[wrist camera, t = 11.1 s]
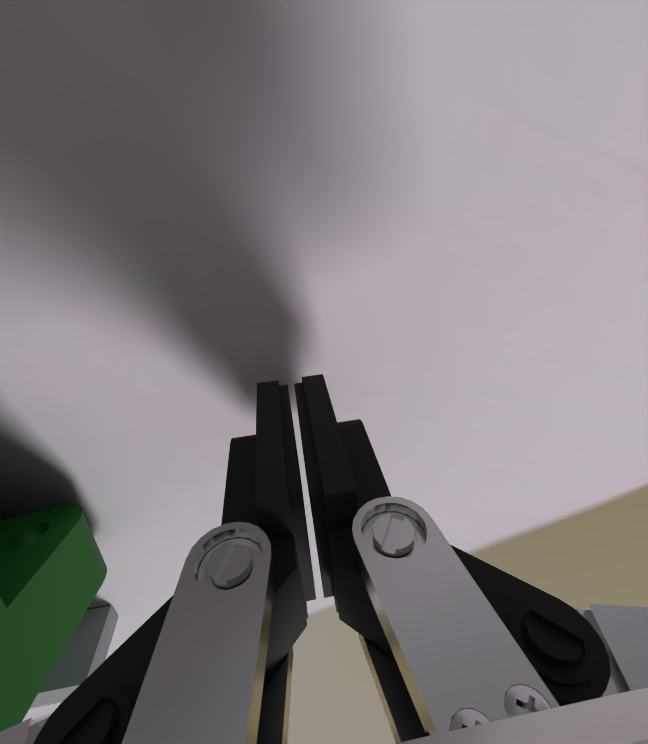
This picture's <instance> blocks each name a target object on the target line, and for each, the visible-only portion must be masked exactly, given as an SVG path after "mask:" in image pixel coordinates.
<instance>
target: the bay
mask: <svg viewBox="0 0 648 744" xmlns="http://www.w3.org/2000/svg"><path fill="white" fill-rule="evenodd" d="M117 620H118V616H117V614H116V613H115V611H114V609H113V608H112V606H105V607H100V608H94V609H89V610H87V611H86V612H85V614H84V616H83V617H82V619H81V621H80V623H79V624H78V626H77V628H76V629H75V631H74V633H73V635H72V636H71V638H70V640H69V641H68V643H67V645H66V647H65V648H64V650H63V652H62V653H61V655H60V657H59V659H58V660H57V662H56V664H55V665H54V667H53V669H52V671H51V672H50V674H49V676H48V677H47V679H46V681H45V683H44V684H43V686H42V688H41V689H40V691H39V693H38V695H37V696H36V698H35V700H34V701H33V703H32V705H31V707H30V708H35V707H39V706H44V705H49V704H54V703H59V702H63V701H64V700H65V699H66V698H67V697H68V696H69V695H70V694H71V693H72V692H73V691H74V690H75V689H76V688H77V687H78V686H79V685H80V684H81V683H82V682H83V681H84V680H85V679H87V678H88V677H89V676H90V675H91V674H92V673H93V672H94V671H95V670H96V669H97V668H98V667H99V666H100V665H101V664H102V663H103V662H104V661H105V659H106V655H107V652H108V649H109V646H110V642H111V639H112V636H113V633H114V629H115V626H116V623H117ZM30 708H29V709H30Z"/></svg>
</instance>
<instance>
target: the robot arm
mask: <svg viewBox="0 0 648 744" xmlns="http://www.w3.org/2000/svg"><path fill="white" fill-rule="evenodd" d="M294 386H295V393H296V401H297V409H298V416H299V424H300V431H301V439H302V447H303V454H304V462H305V469H306V476H307V483H308V490H309V497H310V504H311V511H312V517H313V524H314V531H315V538H316V545H317V552H318V558H319V565H320V572H321V579H322V586H323V593H324V598H325V597H331V596H334V599H335V605H336V610H337V612H339V618H340V620H342V621H343V622H344V623H346V624H347V625H348V626H350V627H351V628H353V629H354V630H355V631H357V632H358V634H359V639H360V642H361V646H362V649H363V651H364V654H365V657H366V660H367V663H368V666H369V668H370V671H371V674H372V677H373V679H374V683H375V685H376V688H377V691H378V694H379V697H380V699H381V702H382V705H383V708H384V711H385V714H386V717H387V719H388V722H389V725H390V728H391V731H392V733H393V737H394V739H395V742H396V744H648V607H636V606H619V605H600V604H588V605H587V608H586V610H581V609H574V608H572V607H571V606H569V605H568V604H566V603H564V602H563V601H561V600H560V599H558V598H556V597H554V596H552V595H550V594H548V593H546V592H544V591H542V590H540V589H538V588H536V587H534V586H532V585H530V584H528V583H526V582H523V581H522V580H519V579H518V578H516V577H514V576H512V575H510V574H507V573H506V572H503V571H502V570H500V569H498V568H496V567H494V566H492V565H490V564H488V563H485V562H484V561H482V560H480V559H478V558H475V557H474V556H472V555H470V554H468V553H466V552H464V551H462V550H460V549H458V548H456V547H454V546H452V545H450V544H449V543H448V541H447V540H446V538H445V537H444V535H443V534H442V533H441V531H440V530H439V528H438V527H437V525H436V524H435V522H434V521H433V519H432V518H431V516H430V515H429V514H428V513H427V512H426V511H425V510H424V509H423V508H422V507H421V506H419V505H417V504H416V503H414V502H413V501H410V500H407V499H404V498H401V497H391V494H390V492H389V489H388V487H387V484H386V481H385V479H384V476H383V474H382V471H381V469H380V466H379V464H378V461H377V458H376V456H375V453H374V451H373V448H372V446H371V443H370V441H369V438H368V436H367V433H366V430H365V428H364V425H363V423H362V421H361V420H360V419H358V420H352V421H345V422H338V423H337V421H336V417H335V414H334V411H333V407H332V404H331V400H330V397H329V394H328V390H327V387H326V383H325V380H324V377H323V374H321V375H313V376H306V377H302V383H296V384H294ZM315 599H316V595H315V587H314V579H313V571H312V564H311V556H310V548H309V540H308V532H307V524H306V516H305V508H304V500H303V493H302V485H301V477H300V469H299V462H298V455H297V448H296V441H295V434H294V427H293V420H292V413H291V406H290V398H289V391H288V385H281V386H279V380H277V381H269V382H262V383H257V411H256V435H251V436H244V437H237V438H232V439H231V443H230V451H229V460H228V469H227V479H226V488H225V497H224V506H223V515H222V525H221V526H219V527H216V528H214V529H212V530H211V531H209V532H208V533H206V534H205V535H204V536H202V537H201V538H200V539H199V540H198V541H197V543H196V544H195V545H194V546H193V547H192V549H191V551H190V552H189V554H188V556H187V558H186V561H185V563H184V566H183V569H182V572H181V575H180V578H179V581H178V584H177V586H176V589H175V592H174V595H173V596H172V597H171V598H170V599H169V600H168V601H167V602H166V603H165V604H164V605H163V606H162V607H161V608H160V609H158V610H157V611H156V612H155V613H154V614H153V615H152V616H151V617H150V618H149V619H148V620H147V621H146V622H145V623H144V624H143V625H142V626H141V627H140V628H139V629H138V630H137V631H136V632H134V633H133V634H132V635H131V636H130V637H129V638H128V639H127V640H126V641H125V642H124V643H123V644H122V645H121V646H120V647H119V648H118V649H117V650H116V651H115V652H114V653H113V654H112V655H110V656H109V657H108V658H107V659H106V660H105V661H104V662H103V663H102V664H101V665H100V666H99V667H98V668H97V669H96V670H95V671H94V672H93V673H92V674H91V675H90V676H89V677H88V678H87V679H85V680H84V681H83V682H82V683H81V684H80V685H79V686H78V687H77V688H76V689H75V690H74V691H73V692H72V693H71V694H70V695H69V696H68V697H67V698H66V699H65V700H64V701H63V702H62V703H61V704H60V705H59V706H58V708H57V709H56V710H55V711H54V712H53V713H52V714H51V716H50V717H48V718H46V719H44V720H42V721H40V722H37V723H36V722H35V721H34V720H33V719H32V718H30V719H28V720H25V721H23V722H21V723H19V724H16V725H14V726H12V727H10V728H8V729H5V730H3V731H1V732H0V744H287V743H288V727H289V713H290V697H291V682H292V666H293V644H294V643H295V642H296V640H297V639H298V637H299V636H300V635H301V633H302V632H303V630H304V629H305V628H306V626H307V621H306V618H308V614H307V604H306V601H310V600H315Z"/></svg>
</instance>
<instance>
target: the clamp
mask: <svg viewBox="0 0 648 744" xmlns="http://www.w3.org/2000/svg"><path fill="white" fill-rule="evenodd" d="M106 573H107V567H106V564H105V562H104V560H103V557H102V555H101V553H100V551H99V548H98V546H97V544H96V541H95V539H94V537H93V534H92V532H91V530H90V527H89V525H88V523H87V520H86V518H85V516H84V513H83V511H82V509H81V508H80V507H79V506H77V505H71V504H70V505H64V506H60V507H56V508H51V509H47V510H43V511H38V512H34V513H30V514H25V515H21V516H17V517H12V518H8V519H4V520H0V732H1V731H3V730H5V729H8V728H10V727H12V726H14V725H16V724H19V723H21V722H22V720H23V719H24V717H25V715H26V713H27V712H28V710H29V708H30V707H31V705H32V703H33V701H34V700H35V698H36V696H37V695H38V693H39V691H40V689H41V688H42V686H43V684H44V683H45V681H46V679H47V677H48V676H49V674H50V672H51V671H52V669H53V667H54V665H55V664H56V662H57V660H58V659H59V657H60V655H61V653H62V652H63V650H64V648H65V647H66V645H67V643H68V641H69V640H70V638H71V636H72V635H73V633H74V631H75V629H76V628H77V626H78V624H79V623H80V621H81V619H82V617H83V616H84V614H85V612H86V611H87V609H88V607H89V606H90V604H91V602H92V600H93V599H94V597H95V595H96V594H97V592H98V590H99V588H100V587H101V585H102V583H103V581H104V579H105V577H106Z"/></svg>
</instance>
